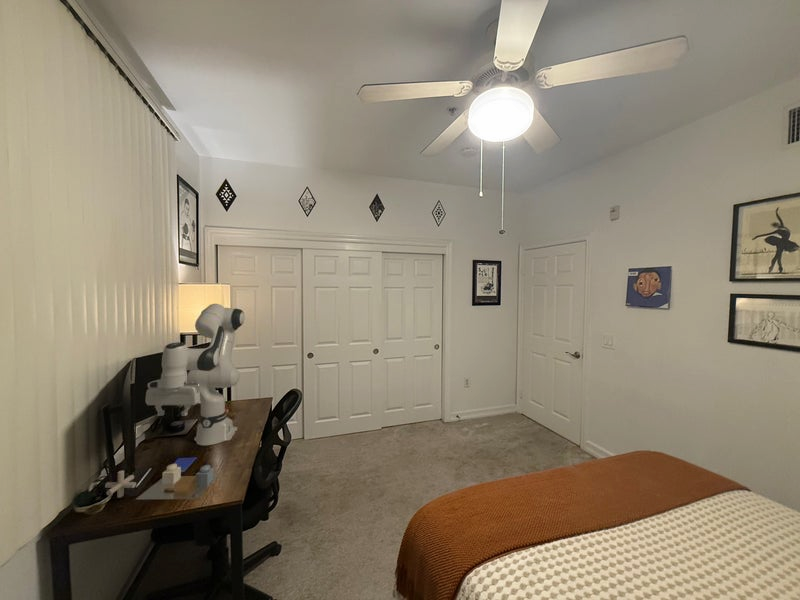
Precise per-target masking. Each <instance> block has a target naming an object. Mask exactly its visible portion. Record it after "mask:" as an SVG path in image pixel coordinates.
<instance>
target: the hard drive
mask: <svg viewBox="0 0 800 600" xmlns="http://www.w3.org/2000/svg"><path fill="white" fill-rule="evenodd" d="M197 458H198V457H180V458H177V459H176V460H175V461H174V463H172V464H177V467H181V473H184V472H186V470H188V468H189V467H190V466H191V465H192V464H193V463H194V462H195V461H196V459H197Z"/></svg>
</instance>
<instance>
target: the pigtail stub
mask: <svg viewBox="0 0 800 600" xmlns="http://www.w3.org/2000/svg"><path fill="white" fill-rule="evenodd" d="M196 487H197V477H182V478H181V479H180V480H179V481H178V482H176V483H175V484H174V488H165V489H164V491H174V495H189V494H190V493H191V492H192V491H193V490H194V489H195V488H196Z"/></svg>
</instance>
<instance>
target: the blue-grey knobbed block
mask: <svg viewBox="0 0 800 600" xmlns="http://www.w3.org/2000/svg"><path fill="white" fill-rule="evenodd" d="M214 469H215V468H214V467H211V465H210V464H204V465H202V466H200V469H199V471H198V472H197V473H196V474H195V476H196V477H197V485H208V484H209V483H210V482H211V481H212V480H213V479H214V476H215V475H214V473H215V470H214Z"/></svg>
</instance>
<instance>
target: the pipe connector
mask: <svg viewBox="0 0 800 600" xmlns="http://www.w3.org/2000/svg"><path fill="white" fill-rule="evenodd" d="M134 479H135V475H134V474H130V475H129V476H127V477H125V470H119V471H118V472H117V481H115V482H113V481H107V482H106V483H105V485H104V488H105V489H108V490H107V491H106V494H105V495H106V496H111V495H113V494H114V493H116V492H117V493H116V495H117V498H123V497H124V495H125V491H124V490H125V489H134V488H135V487H136V486H137V482H135V481H133V480H134Z"/></svg>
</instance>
